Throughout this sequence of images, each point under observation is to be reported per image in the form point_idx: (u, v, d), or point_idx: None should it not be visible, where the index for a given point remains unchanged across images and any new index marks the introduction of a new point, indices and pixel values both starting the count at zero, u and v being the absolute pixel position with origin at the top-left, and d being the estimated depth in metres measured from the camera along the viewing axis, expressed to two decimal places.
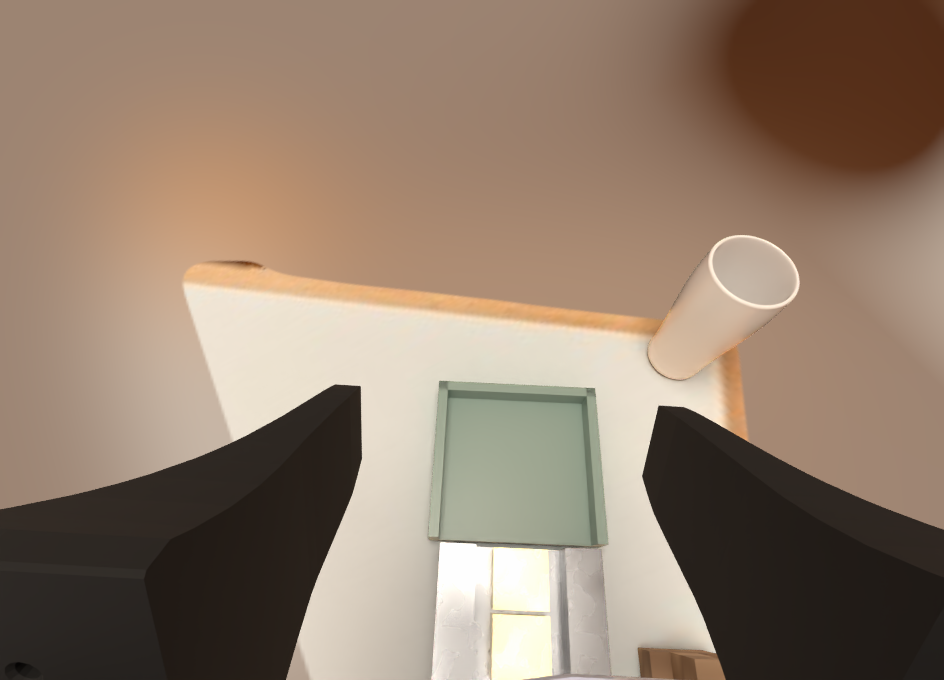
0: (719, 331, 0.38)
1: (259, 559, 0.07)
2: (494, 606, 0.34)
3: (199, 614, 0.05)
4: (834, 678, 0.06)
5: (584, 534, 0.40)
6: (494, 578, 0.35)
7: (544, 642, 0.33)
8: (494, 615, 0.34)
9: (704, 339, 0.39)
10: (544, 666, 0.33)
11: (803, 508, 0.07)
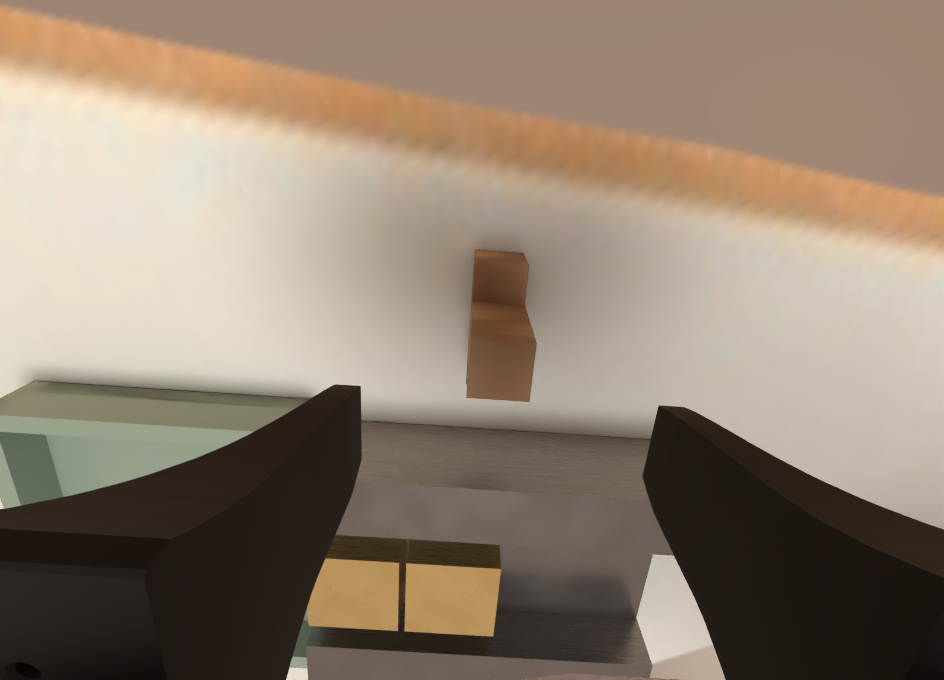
0: None
1: (260, 559, 0.07)
2: (393, 629, 0.22)
3: (199, 614, 0.05)
4: (834, 678, 0.06)
5: None
6: (354, 626, 0.22)
7: (442, 573, 0.21)
8: (406, 629, 0.22)
9: None
10: (475, 576, 0.21)
11: (803, 508, 0.07)
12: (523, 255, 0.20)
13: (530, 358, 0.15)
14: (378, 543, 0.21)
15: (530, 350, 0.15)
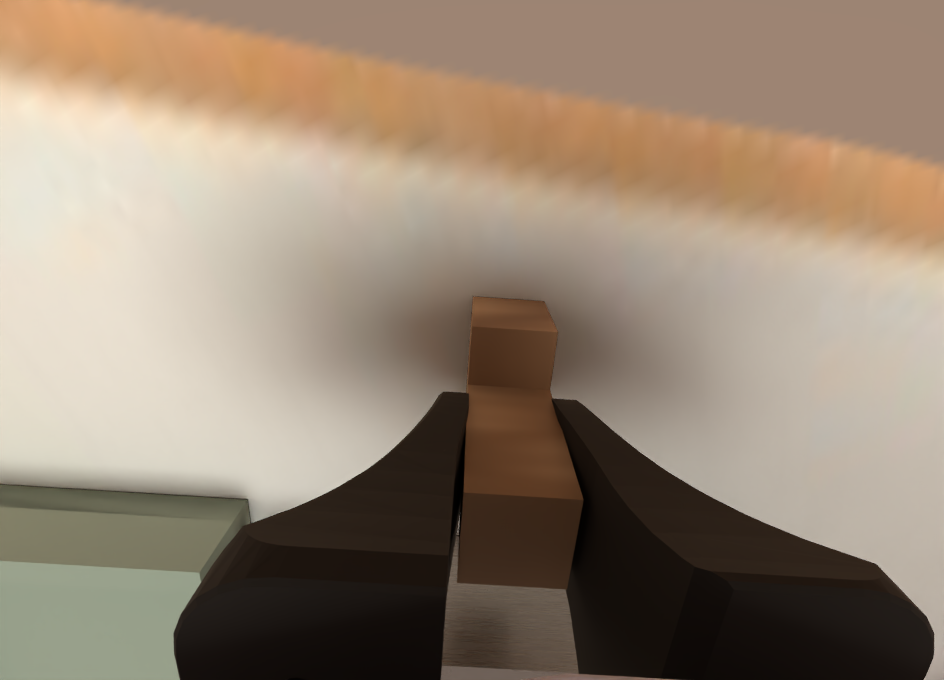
0: None
1: None
2: None
3: None
4: (630, 667, 0.06)
5: None
6: None
7: None
8: None
9: None
10: None
11: (623, 497, 0.07)
12: (545, 307, 0.13)
13: (571, 523, 0.08)
14: None
15: (572, 511, 0.08)
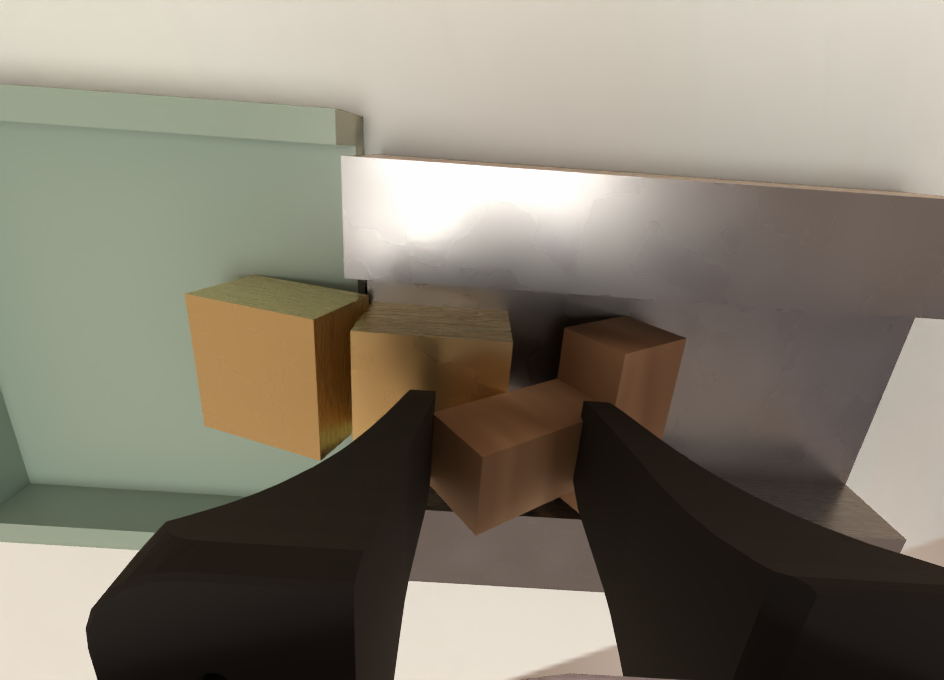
0: None
1: (390, 567, 0.07)
2: (314, 456, 0.13)
3: (369, 623, 0.05)
4: (691, 670, 0.06)
5: (325, 163, 0.14)
6: (261, 440, 0.14)
7: (413, 351, 0.12)
8: None
9: None
10: (468, 357, 0.12)
11: (677, 500, 0.07)
12: (672, 341, 0.12)
13: (477, 474, 0.10)
14: (302, 301, 0.13)
15: (476, 463, 0.10)
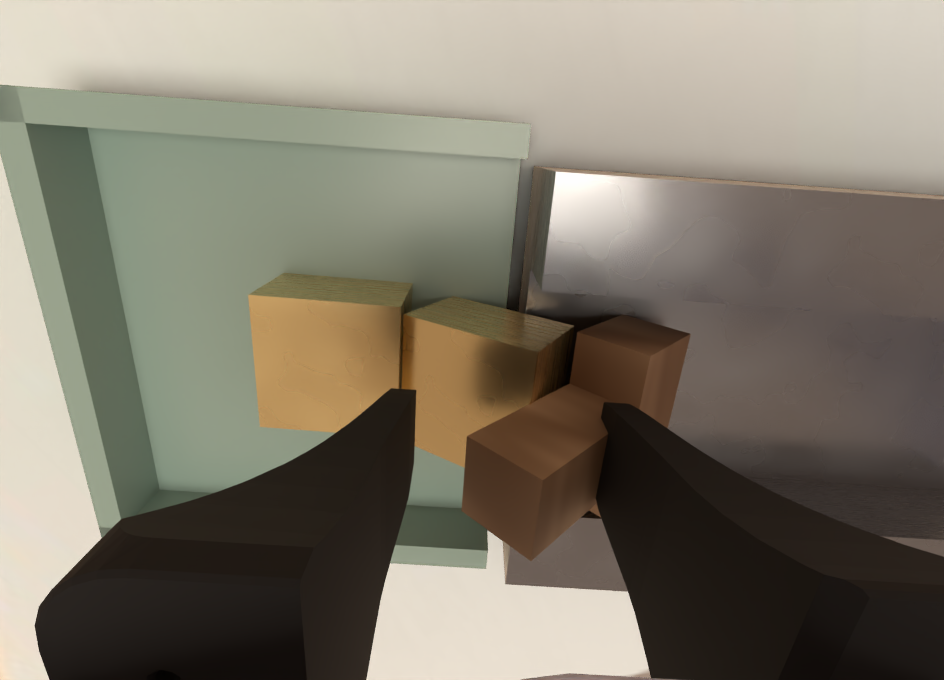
0: None
1: (356, 565, 0.07)
2: None
3: (325, 621, 0.05)
4: (730, 672, 0.06)
5: (489, 175, 0.14)
6: (330, 429, 0.14)
7: (450, 343, 0.13)
8: None
9: None
10: (496, 359, 0.12)
11: (711, 502, 0.07)
12: (681, 337, 0.13)
13: (533, 498, 0.09)
14: (368, 293, 0.14)
15: (534, 486, 0.09)
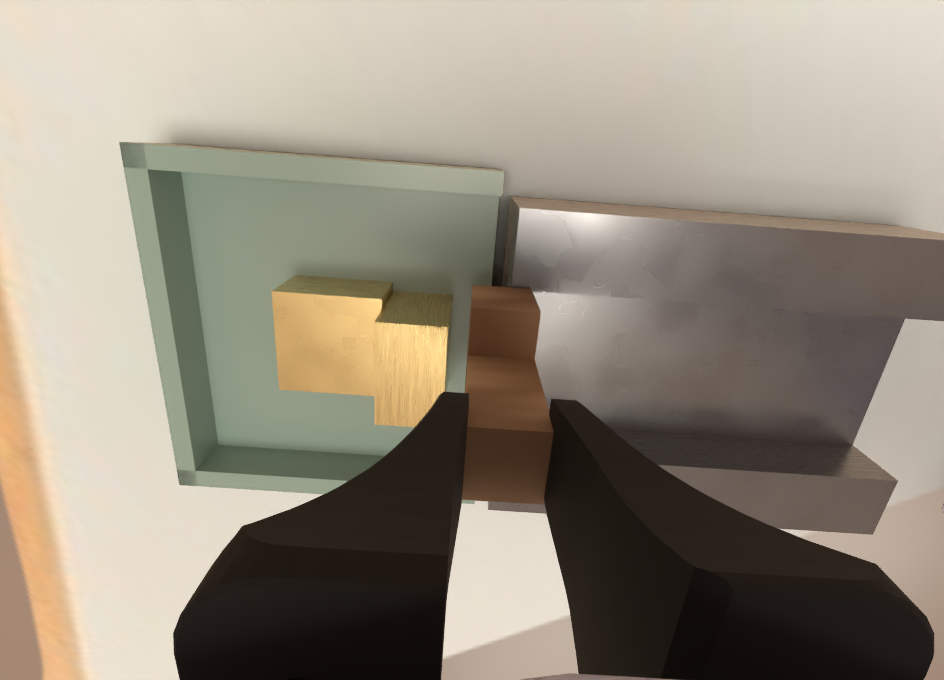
0: None
1: None
2: None
3: None
4: (630, 667, 0.06)
5: (476, 203, 0.19)
6: (331, 391, 0.19)
7: None
8: None
9: None
10: None
11: (623, 497, 0.07)
12: (532, 293, 0.16)
13: (546, 451, 0.11)
14: (358, 289, 0.19)
15: (546, 441, 0.11)
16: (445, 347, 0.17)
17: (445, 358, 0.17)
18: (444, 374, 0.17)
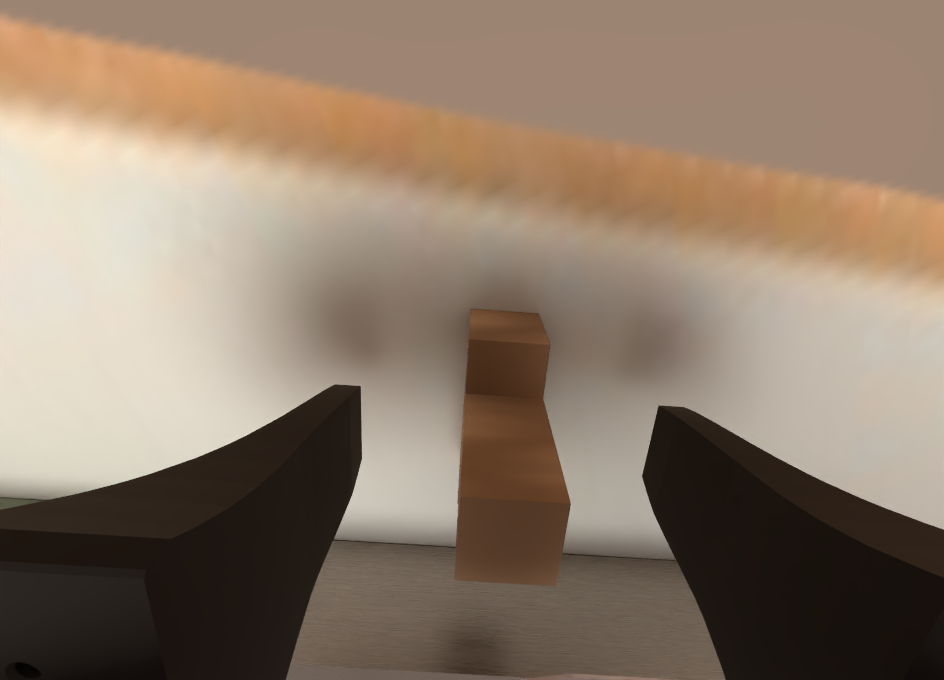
0: None
1: (260, 559, 0.07)
2: None
3: (199, 614, 0.05)
4: (834, 678, 0.06)
5: None
6: None
7: None
8: None
9: None
10: None
11: (803, 508, 0.07)
12: (539, 319, 0.14)
13: (559, 525, 0.09)
14: None
15: (560, 514, 0.09)
16: None
17: None
18: None
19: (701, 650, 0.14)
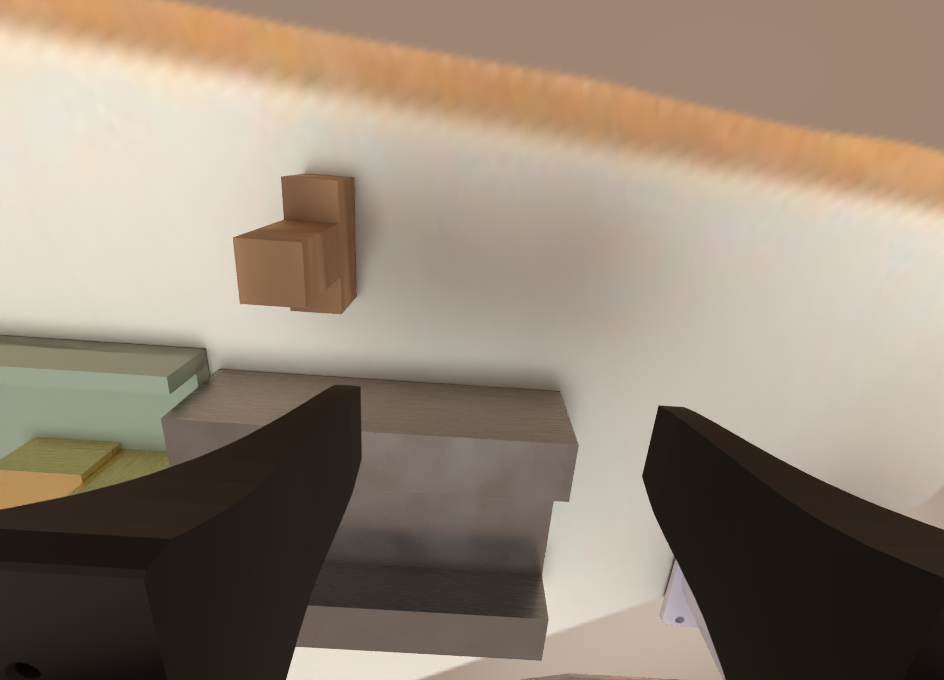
0: None
1: (260, 559, 0.07)
2: None
3: (199, 614, 0.05)
4: (834, 678, 0.06)
5: None
6: None
7: None
8: None
9: None
10: None
11: (803, 508, 0.07)
12: (349, 177, 0.19)
13: (298, 259, 0.14)
14: (73, 459, 0.22)
15: (296, 250, 0.14)
16: None
17: None
18: None
19: (473, 423, 0.20)
